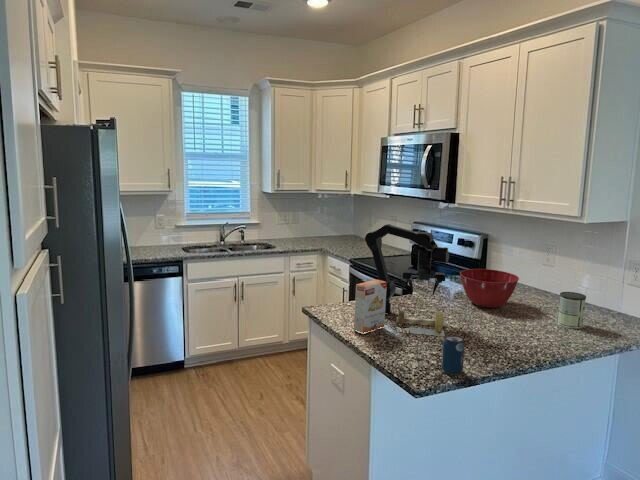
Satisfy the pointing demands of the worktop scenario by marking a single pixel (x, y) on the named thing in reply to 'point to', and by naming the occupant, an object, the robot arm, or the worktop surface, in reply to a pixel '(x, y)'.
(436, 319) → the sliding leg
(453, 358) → the soda can
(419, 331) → the bolt plate
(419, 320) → the trammel beam
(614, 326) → the worktop surface
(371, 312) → the cracker box
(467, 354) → the worktop surface
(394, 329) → the worktop surface
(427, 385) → the worktop surface
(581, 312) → the coffee can
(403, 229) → the robot arm
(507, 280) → the mixing bowl
